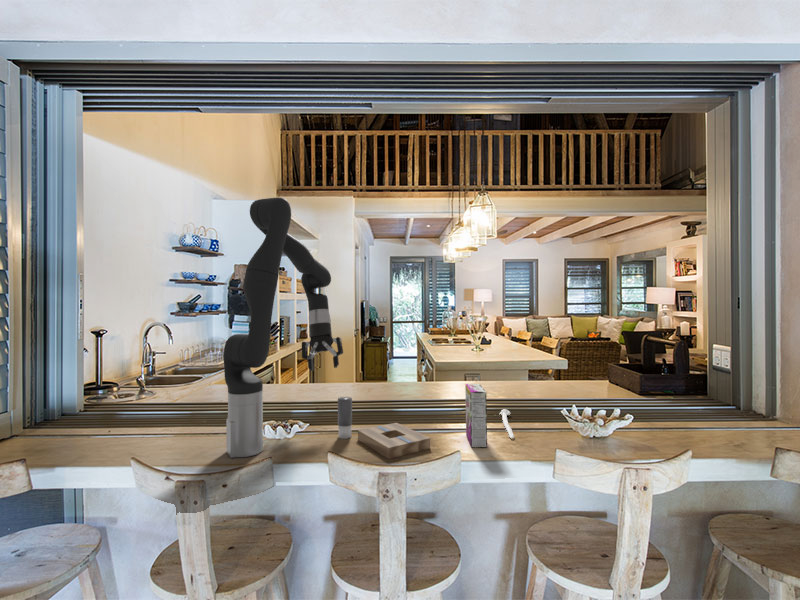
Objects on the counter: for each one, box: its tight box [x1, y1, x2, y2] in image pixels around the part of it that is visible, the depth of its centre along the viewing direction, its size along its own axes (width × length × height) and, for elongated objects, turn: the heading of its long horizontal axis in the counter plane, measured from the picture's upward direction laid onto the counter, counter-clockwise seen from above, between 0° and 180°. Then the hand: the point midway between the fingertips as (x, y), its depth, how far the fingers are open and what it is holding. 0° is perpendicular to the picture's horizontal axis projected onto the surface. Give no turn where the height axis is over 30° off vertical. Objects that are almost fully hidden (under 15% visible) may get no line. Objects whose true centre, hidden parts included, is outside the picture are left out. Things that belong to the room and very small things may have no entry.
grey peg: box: [337, 396, 353, 440], centre depth 129 cm, size 4×4×12 cm
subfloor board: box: [357, 422, 431, 460], centre depth 122 cm, size 14×18×3 cm
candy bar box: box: [464, 383, 488, 448], centre depth 124 cm, size 11×5×16 cm, turn 179°
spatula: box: [499, 408, 515, 439], centre depth 139 cm, size 28×4×3 cm, turn 173°
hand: (323, 369), depth 143 cm, fingers open, 8 cm apart
